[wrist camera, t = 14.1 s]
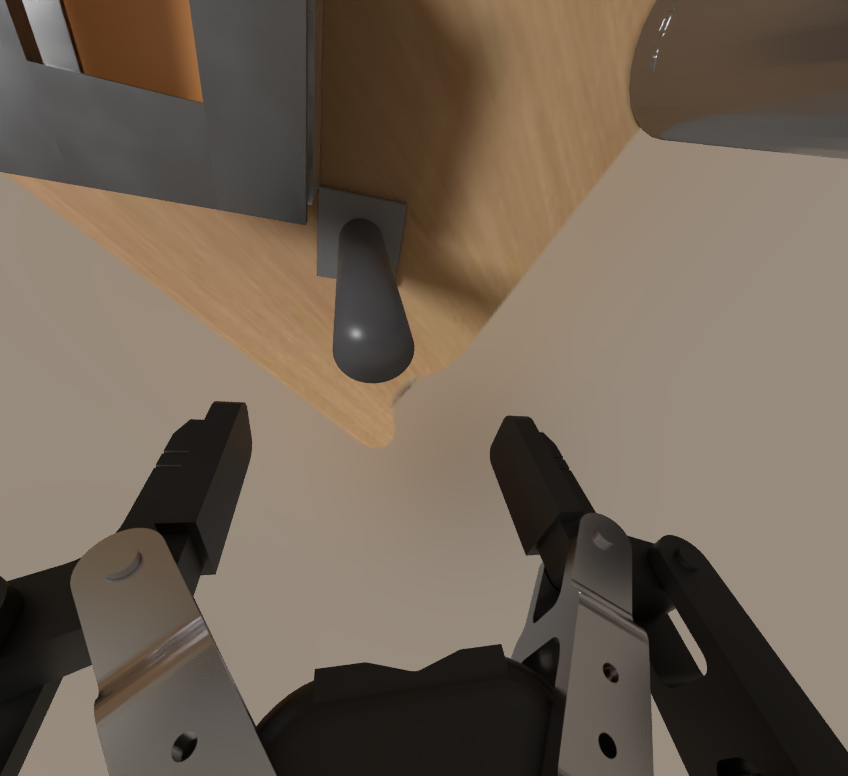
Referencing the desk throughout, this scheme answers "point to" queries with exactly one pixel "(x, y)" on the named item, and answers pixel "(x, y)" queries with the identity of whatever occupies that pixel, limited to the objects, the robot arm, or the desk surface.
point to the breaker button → (138, 43)
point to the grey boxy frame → (172, 110)
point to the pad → (349, 206)
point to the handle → (368, 308)
